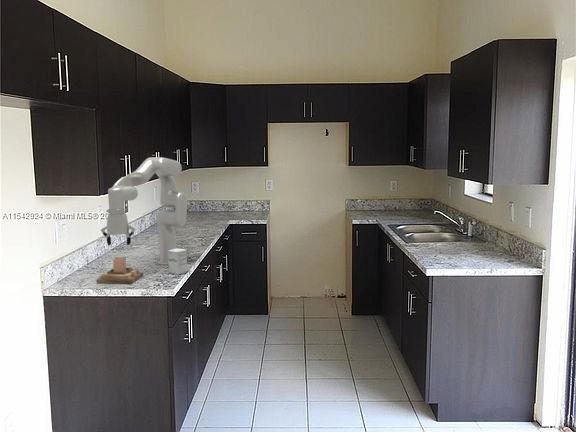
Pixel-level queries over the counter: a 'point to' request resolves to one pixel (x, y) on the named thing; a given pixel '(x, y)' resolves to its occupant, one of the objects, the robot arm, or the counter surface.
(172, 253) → the supplement box
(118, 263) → the pillar block
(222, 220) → the counter surface
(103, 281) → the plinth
